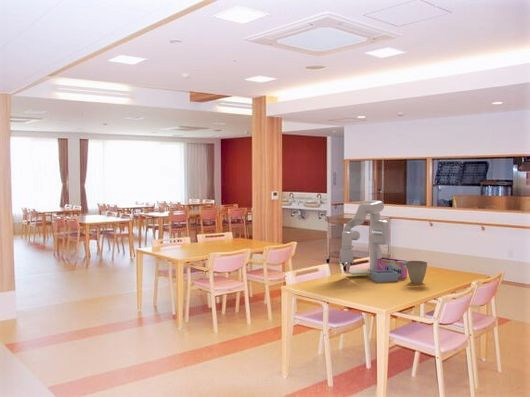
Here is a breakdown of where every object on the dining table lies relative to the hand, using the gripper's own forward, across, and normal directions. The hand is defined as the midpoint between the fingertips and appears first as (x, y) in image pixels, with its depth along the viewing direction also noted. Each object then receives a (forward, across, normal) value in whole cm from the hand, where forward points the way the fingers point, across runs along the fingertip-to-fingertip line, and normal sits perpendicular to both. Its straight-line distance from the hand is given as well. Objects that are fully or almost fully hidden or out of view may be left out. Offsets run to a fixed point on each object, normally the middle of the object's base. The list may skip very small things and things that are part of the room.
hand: (346, 270), depth 391 cm
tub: (+6, -24, +16) cm, 29 cm away
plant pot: (+6, -44, +29) cm, 53 cm away
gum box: (+6, -37, +2) cm, 38 cm away
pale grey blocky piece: (+2, -9, 0) cm, 9 cm away
